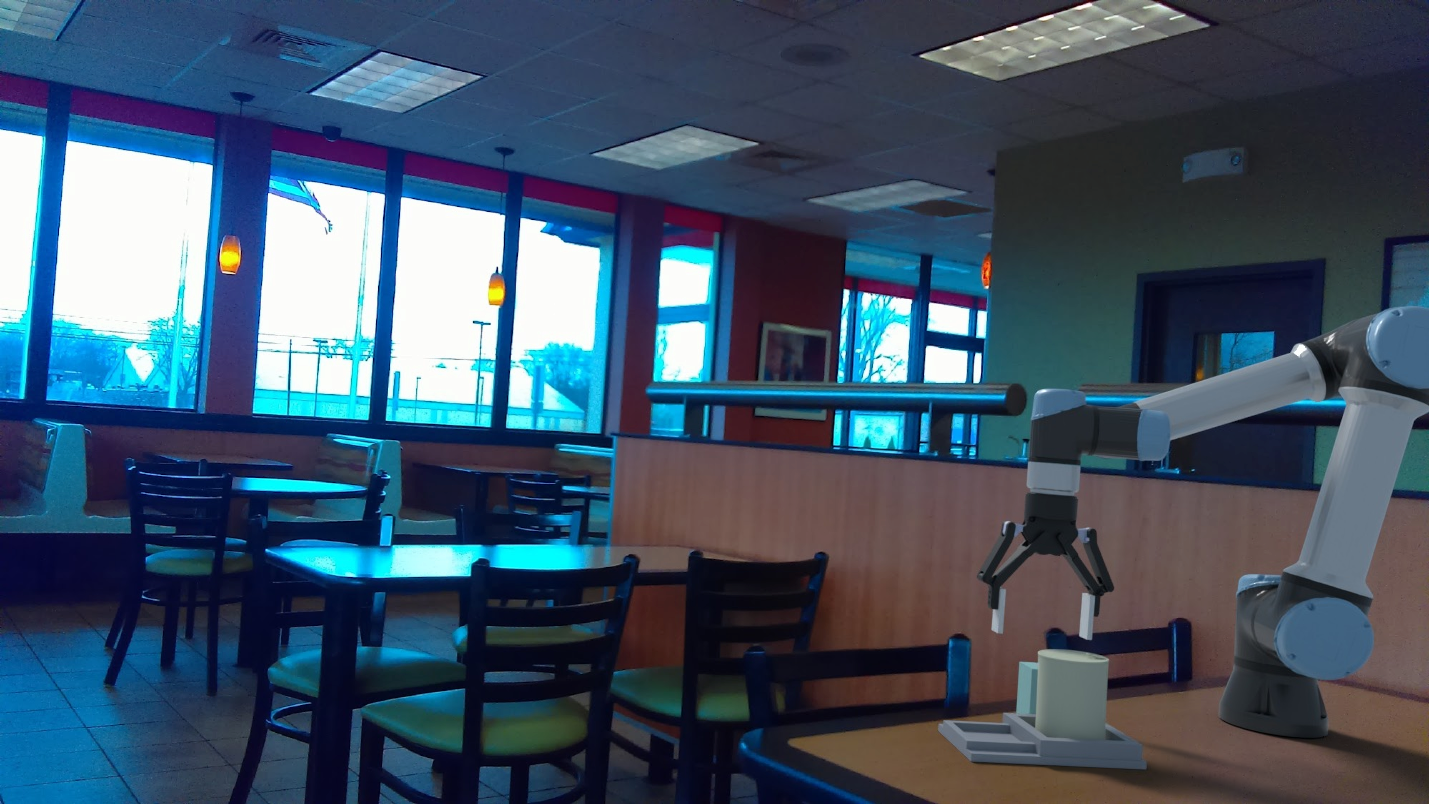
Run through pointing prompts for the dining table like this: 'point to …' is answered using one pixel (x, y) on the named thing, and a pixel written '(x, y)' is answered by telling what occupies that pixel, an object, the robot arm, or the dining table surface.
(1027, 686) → the block
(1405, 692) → the dining table surface
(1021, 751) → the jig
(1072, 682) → the can
